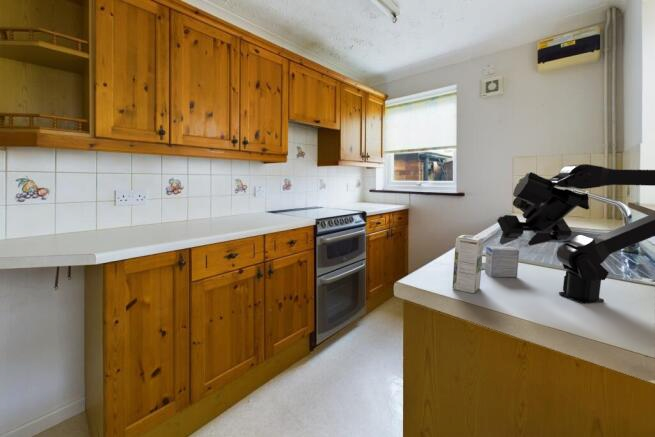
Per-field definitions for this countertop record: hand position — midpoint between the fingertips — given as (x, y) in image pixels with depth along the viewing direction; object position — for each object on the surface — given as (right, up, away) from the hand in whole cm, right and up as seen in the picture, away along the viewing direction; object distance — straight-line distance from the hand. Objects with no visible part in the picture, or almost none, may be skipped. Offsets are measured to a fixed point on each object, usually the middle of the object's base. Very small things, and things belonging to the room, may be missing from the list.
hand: (515, 243), depth 89 cm
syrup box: (-17, -12, -6) cm, 21 cm away
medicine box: (-1, -10, +6) cm, 12 cm away
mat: (-4, -9, +15) cm, 18 cm away
